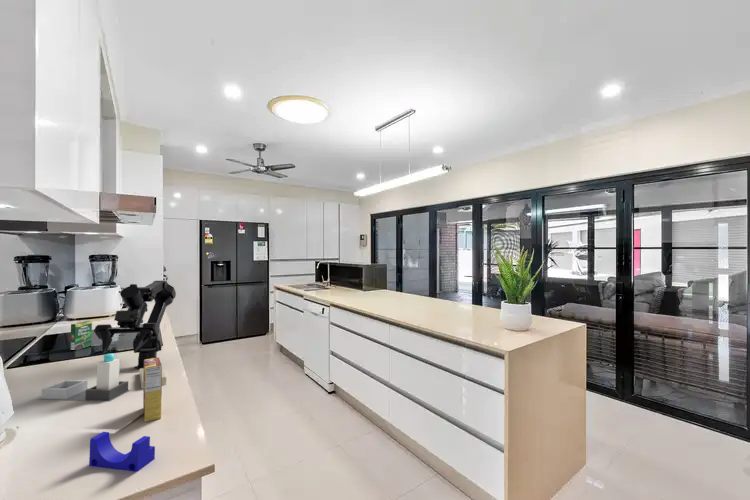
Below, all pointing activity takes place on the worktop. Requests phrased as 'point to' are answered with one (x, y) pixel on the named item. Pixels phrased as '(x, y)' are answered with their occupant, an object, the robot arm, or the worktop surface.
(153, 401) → the candy box
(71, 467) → the worktop surface
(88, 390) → the grey long flat tray
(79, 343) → the coffee box
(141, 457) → the blue cradle bracket
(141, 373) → the electrical outlet
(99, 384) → the plug
